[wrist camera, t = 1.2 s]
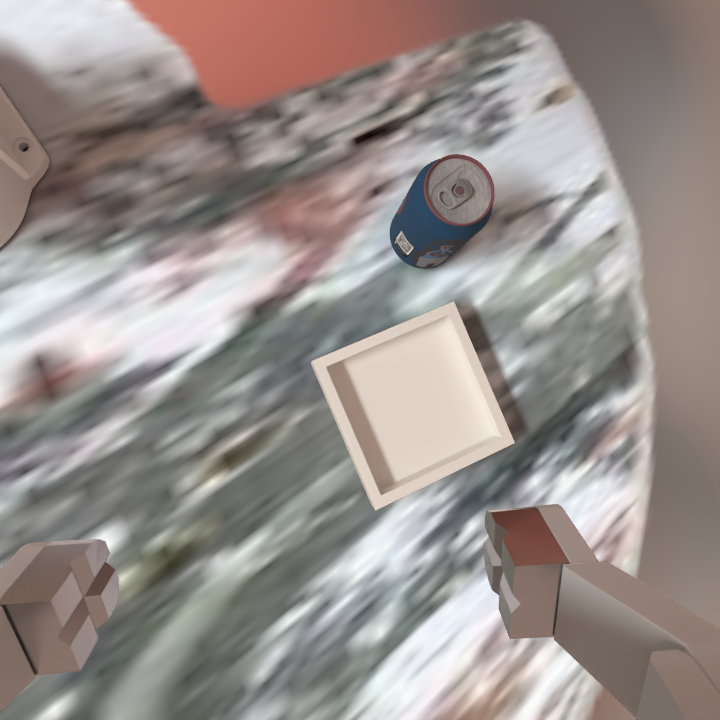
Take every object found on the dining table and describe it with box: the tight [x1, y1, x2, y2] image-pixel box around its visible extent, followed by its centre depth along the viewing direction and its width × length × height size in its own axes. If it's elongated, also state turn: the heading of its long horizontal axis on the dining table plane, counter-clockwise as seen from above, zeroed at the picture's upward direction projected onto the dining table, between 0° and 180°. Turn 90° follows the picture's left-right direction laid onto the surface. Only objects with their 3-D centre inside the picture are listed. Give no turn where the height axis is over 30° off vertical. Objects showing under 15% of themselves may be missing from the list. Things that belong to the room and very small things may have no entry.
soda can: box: [390, 154, 494, 268], centre depth 42 cm, size 7×7×12 cm
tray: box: [311, 302, 515, 510], centre depth 45 cm, size 15×15×3 cm
